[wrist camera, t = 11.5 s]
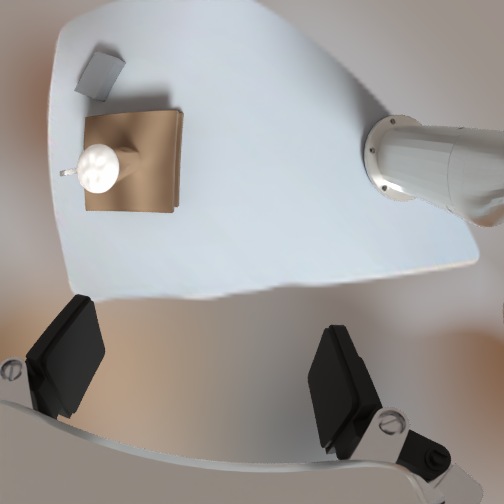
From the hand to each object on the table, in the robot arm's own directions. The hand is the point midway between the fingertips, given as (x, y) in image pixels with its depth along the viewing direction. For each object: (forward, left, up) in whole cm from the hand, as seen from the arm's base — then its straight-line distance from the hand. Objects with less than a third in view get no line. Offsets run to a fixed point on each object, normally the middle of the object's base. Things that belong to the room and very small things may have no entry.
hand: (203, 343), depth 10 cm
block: (+18, -17, -27) cm, 37 cm away
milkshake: (+12, -5, -23) cm, 27 cm away
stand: (+12, -5, -27) cm, 30 cm away
